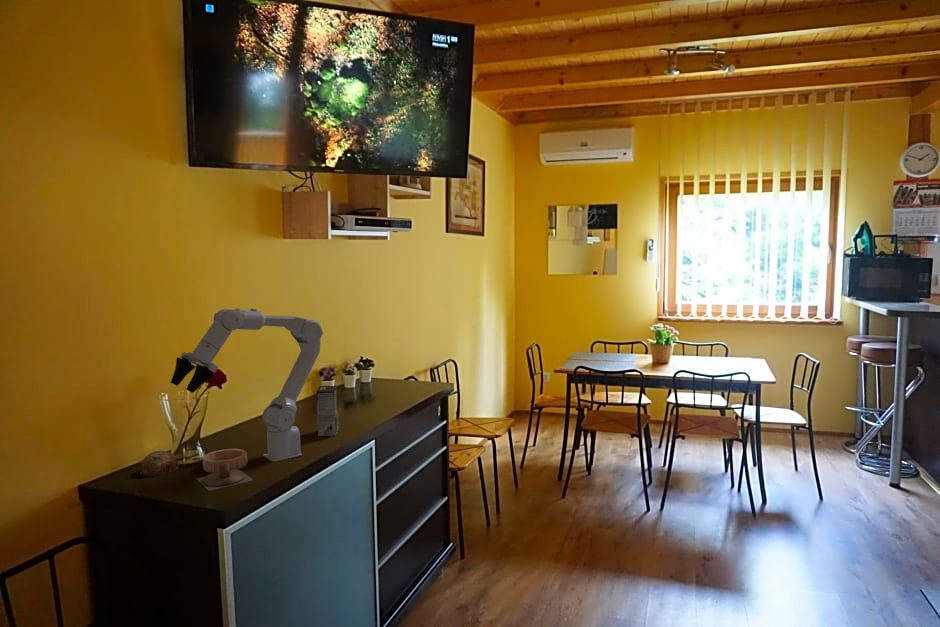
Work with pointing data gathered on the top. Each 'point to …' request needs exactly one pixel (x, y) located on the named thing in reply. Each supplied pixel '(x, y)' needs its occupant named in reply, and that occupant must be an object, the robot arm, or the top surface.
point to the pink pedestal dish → (224, 476)
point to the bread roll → (159, 463)
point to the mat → (223, 486)
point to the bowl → (225, 459)
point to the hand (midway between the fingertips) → (181, 387)
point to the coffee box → (327, 410)
